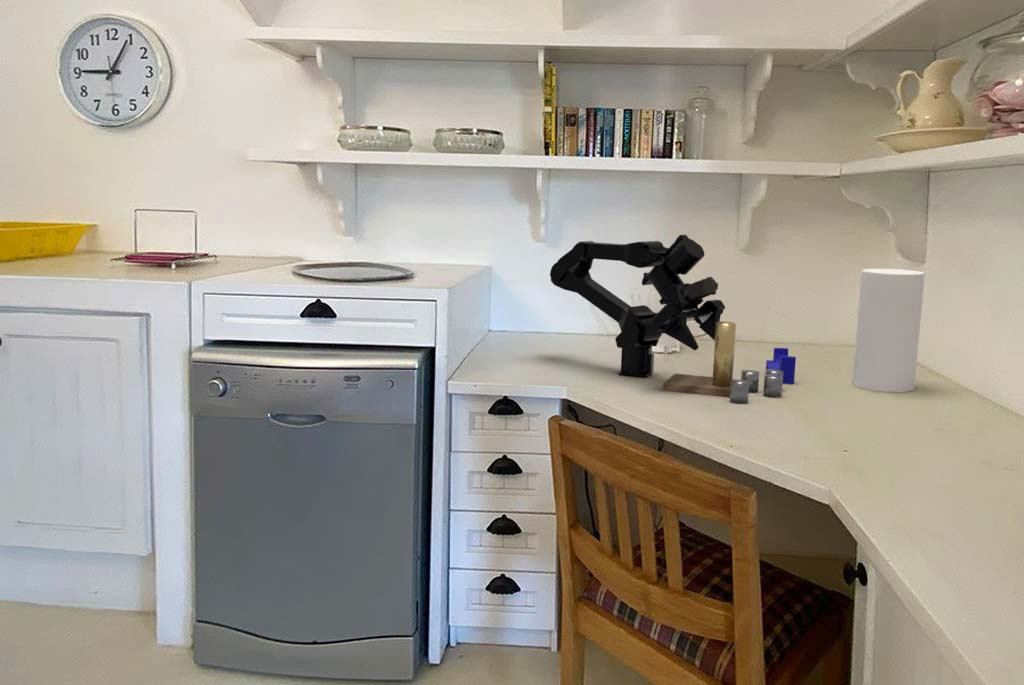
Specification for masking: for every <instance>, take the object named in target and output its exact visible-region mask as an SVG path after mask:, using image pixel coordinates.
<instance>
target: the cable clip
mask: <svg viewBox="0 0 1024 685" xmlns="http://www.w3.org/2000/svg"><path fill="white" fill-rule="evenodd" d="M796 359H797V357H796V356H792V355H791V356H789V348H788V347H787V348H786V347H773V359H771V360H769V359H766V364H765V371H766V370H767V369H777V370H782V371H783V384H785V385H794V384H795V375H796V374H795V373H796V361H797V360H796ZM783 384H782V385H783Z"/></svg>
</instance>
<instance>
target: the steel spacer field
mask: <svg viewBox="0 0 1024 685" xmlns="http://www.w3.org/2000/svg"><path fill="white" fill-rule="evenodd" d="M740 377H741V378H740V379H738V380H731V386H730V397H729V402H730V403H734V404H748V403H749V395H750V394H749V393H758V392H759V382H760V371H757V370H753V369H752V370H751V369H746V370H744V369H743V370H741V376H740ZM763 378H764V379H763V393H762V394H763V396H764V397H768V398H781V397H782V394H783V371H782V370H777V369H767V370H766V369H765V374H764V376H763Z"/></svg>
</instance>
